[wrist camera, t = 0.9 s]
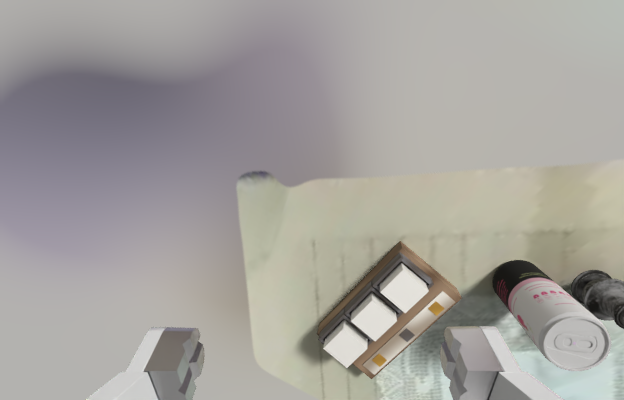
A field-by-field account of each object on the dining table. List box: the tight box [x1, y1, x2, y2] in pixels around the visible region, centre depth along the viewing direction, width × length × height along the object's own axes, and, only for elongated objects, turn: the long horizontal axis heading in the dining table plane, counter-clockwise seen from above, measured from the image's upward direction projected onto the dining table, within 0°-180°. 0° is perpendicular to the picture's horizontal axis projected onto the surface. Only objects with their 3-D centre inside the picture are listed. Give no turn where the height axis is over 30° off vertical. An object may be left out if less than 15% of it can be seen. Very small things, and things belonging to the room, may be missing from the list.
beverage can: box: [493, 260, 611, 371], centre depth 42 cm, size 7×7×15 cm
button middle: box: [351, 292, 397, 341], centre depth 48 cm, size 4×4×2 cm
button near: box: [380, 263, 429, 313], centre depth 46 cm, size 4×4×2 cm
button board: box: [317, 241, 462, 379], centre depth 51 cm, size 11×19×5 cm, turn 141°
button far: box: [323, 319, 367, 368], centre depth 50 cm, size 4×4×2 cm
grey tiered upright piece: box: [571, 270, 624, 329], centre depth 42 cm, size 6×6×12 cm
